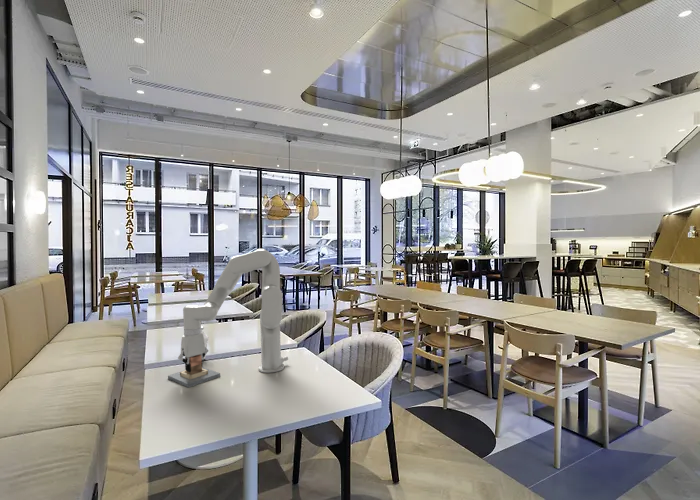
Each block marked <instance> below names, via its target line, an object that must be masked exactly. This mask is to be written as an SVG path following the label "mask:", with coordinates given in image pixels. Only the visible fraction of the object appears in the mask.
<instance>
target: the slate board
mask: <svg viewBox="0 0 700 500" xmlns="http://www.w3.org/2000/svg"><path fill="white" fill-rule="evenodd" d="M167 377H168V378H167V379H168V380H170V381H172V382H175V383H177V384H179V385H182V386H184V387H186V388H191V387H193V386H197V385H200V384H202V383H205V382H208V381H211V380H213V379H217V378H220V377H221V373H220V372H217V371H215V370H212V369H209V368H207V367H203V366H202V372H199V373H196V374H193V375H190V374H188V373H186V370H185V369H184V370H182V371H177V372H175V373H172V374H169V375H167Z"/></svg>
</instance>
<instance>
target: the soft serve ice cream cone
mask: <svg viewBox="0 0 700 500" xmlns="http://www.w3.org/2000/svg"><path fill="white" fill-rule="evenodd" d="M201 333H203V337H204V342H205V347H206V348H207V349H208V341H209V336H208V335H207V334H206V333H205V331H204V329H203V330H202V332H201ZM206 355H207V354H206ZM206 355H205V356H204V358H203V360H205V359H206Z"/></svg>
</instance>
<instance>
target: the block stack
mask: <svg viewBox="0 0 700 500" xmlns="http://www.w3.org/2000/svg"><path fill="white" fill-rule="evenodd" d="M189 363H190V364H191V372H187V371H186V373H188V374H190V375H193V374H196V373H199V372H202V367H203V360H202V357H201V355H196V356H193V357H191V358H190V362H189Z"/></svg>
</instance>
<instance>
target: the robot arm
mask: <svg viewBox="0 0 700 500" xmlns="http://www.w3.org/2000/svg"><path fill="white" fill-rule="evenodd" d="M259 269H261V272H262V280H261V281H262V283H261V293H260V295H261V309H260V313H259V325H260V355H261V359H260V360H261V364H260V365H259V366H258V369H257V370H258V371H259V372H261V373H266V374H267V373H269V374H271V373H277V372H280V371H282V370H284V369H285V364H284V362H286V361H288V360H289V357H288V356H283V357H282V351H281V350H282V349H281V347H282V345H281V322H282V318H283V316H282V315H283V292H282V290H281V288H280V287H281V270H280V265H279V262H278V260H277V257H275V256H274V255H273V253H272V252H270V251H268V250H267V249H265V248H257V249H255V250H254V251H251V252H248V253H245V254H241V255H234V256H232V257H231V258H230V259H229V261H228V263H227V264H226V266H225V267H224V269H223V271H222V272H221V274H220V276H219V277H218V279H217V281H216V282H215V284H214V287H213V290H211V292H210V294H209V295H208V297H207V299H206V301H204V304H203V305H199V304H198V305H197V304H191V305H190V304H189V305H185V306H184V307H183V309H182V315H183V335H182V336H181V342H180V353H179V355H178V357H177V359H178V360H180V361H181V362H183V364H184V366H185V367H184V368H185V369H184V370H186V371H187V372H191V364H190V363H189V362H190V358H191V357H193V356H196V355H201V357H202V361H203V360H204V359H203V358H204V356H205V355H207V353H208V352H209V349H208V347H207V348H206V347H205V342H204V337H203V333H201V332H202V330H203V331H204V329H205V327H203V326H202V322H210V321H213V320H215V319H216V318H217V317H218V316H217V315H218V313H219V311H220V309H221V307H222V305H223V304H224V302H225V301H226V299H227V297H228V296H229V295H230V294H231V293H232V292H233V291H234V289H235V287H236V286H237V284H238V282H239V281H240V279H241V277H242V276H243V275H244V274H247V273H249V272H252V271H256V270H259ZM201 321H202V322H201ZM205 357H206V356H205Z"/></svg>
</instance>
